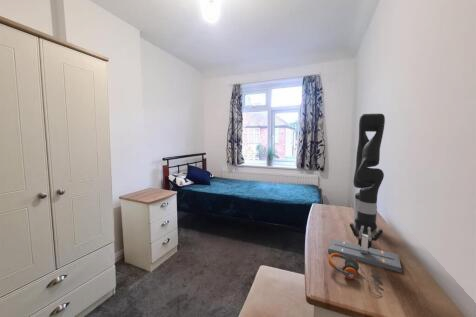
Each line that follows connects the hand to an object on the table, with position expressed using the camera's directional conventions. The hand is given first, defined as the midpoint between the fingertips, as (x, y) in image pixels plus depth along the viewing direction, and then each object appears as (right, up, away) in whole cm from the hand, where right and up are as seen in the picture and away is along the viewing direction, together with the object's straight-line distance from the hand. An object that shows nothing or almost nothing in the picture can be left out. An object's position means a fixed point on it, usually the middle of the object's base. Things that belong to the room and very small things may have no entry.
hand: (364, 246), depth 97 cm
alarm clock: (+9, -3, +18) cm, 21 cm away
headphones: (-13, -6, -14) cm, 20 cm away
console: (-1, -5, +1) cm, 5 cm away
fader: (0, -2, 0) cm, 2 cm away
